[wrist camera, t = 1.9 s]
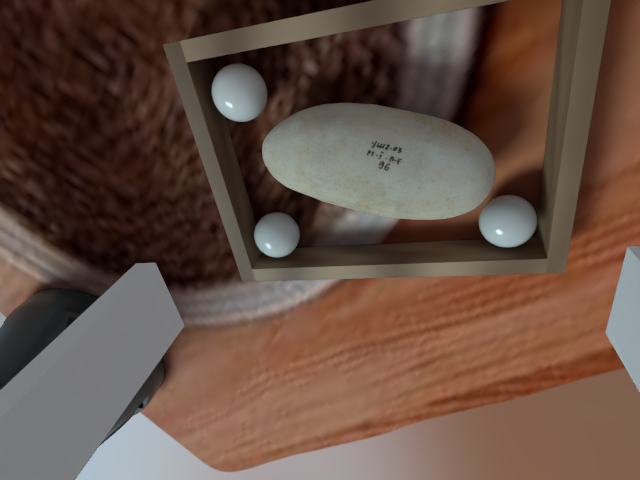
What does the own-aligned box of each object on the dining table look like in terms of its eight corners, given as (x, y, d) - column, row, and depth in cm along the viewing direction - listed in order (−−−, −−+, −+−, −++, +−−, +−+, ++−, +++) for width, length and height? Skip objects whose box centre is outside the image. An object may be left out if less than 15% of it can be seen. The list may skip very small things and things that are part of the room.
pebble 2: (474, 232, 24) (482, 258, 22) (475, 188, 23) (484, 211, 20) (526, 229, 24) (540, 256, 21) (531, 184, 22) (547, 207, 20)
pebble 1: (233, 117, 23) (212, 131, 21) (218, 64, 22) (193, 72, 19) (279, 111, 23) (263, 124, 20) (267, 55, 21) (248, 62, 19)
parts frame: (254, 261, 29) (242, 281, 27) (186, 40, 22) (162, 44, 20) (551, 249, 24) (565, 272, 22) (592, -45, 17) (619, -52, 14)
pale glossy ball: (268, 243, 28) (254, 267, 25) (257, 206, 26) (242, 227, 24) (307, 241, 27) (297, 265, 25) (299, 202, 26) (287, 224, 23)
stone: (249, 94, 20) (502, 96, 15) (309, 110, 25) (508, 115, 20) (246, 205, 21) (476, 243, 16) (303, 197, 27) (488, 223, 21)
